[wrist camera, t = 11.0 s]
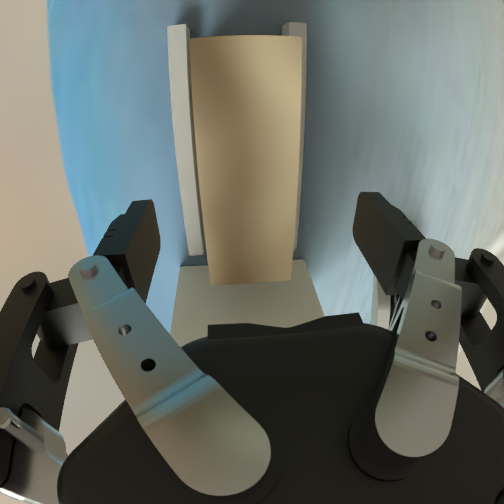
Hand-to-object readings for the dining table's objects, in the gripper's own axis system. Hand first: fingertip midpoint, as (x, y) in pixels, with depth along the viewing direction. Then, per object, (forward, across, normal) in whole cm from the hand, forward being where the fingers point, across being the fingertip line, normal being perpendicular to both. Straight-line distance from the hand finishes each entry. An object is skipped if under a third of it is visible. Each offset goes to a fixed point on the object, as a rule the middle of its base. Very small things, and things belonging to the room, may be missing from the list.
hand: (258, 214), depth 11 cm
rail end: (+13, 0, 0) cm, 13 cm away
